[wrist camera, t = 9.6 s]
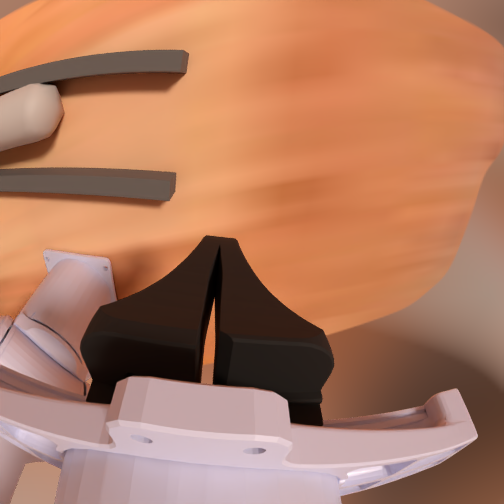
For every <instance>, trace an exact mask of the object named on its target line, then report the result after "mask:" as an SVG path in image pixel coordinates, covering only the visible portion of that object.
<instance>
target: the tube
mask: <svg viewBox="0 0 504 504" xmlns="http://www.w3.org/2000/svg"><path fill="white" fill-rule="evenodd" d="M63 114H64V109H63V105H62V101H61V97H60V94H59V92H58V90H57V87H56V86H55V85H51V84H48V83H36V84H29V85H26V86H24V87H21V88H19V89H16V90H14V91H11V92H9V93H7V94H4V95H2V96H0V151H3V150H7V149H11V148H14V147H18V146H22V145H26V144H30V143H34V142H38V141H40V140H43V139H45V138H48V137H50V136H51V135H52V133H53V132H54V131H55V129H56V128H57V126H58V124H59V122H60V120H61V118H62V116H63Z"/></svg>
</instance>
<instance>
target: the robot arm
mask: <svg viewBox="0 0 504 504" xmlns="http://www.w3.org/2000/svg"><path fill="white" fill-rule="evenodd" d="M43 256H44V260H45V264H46V267H47V271H48V274H47V276H46V277H45V278H44V280H43V281H42V282H41V284H40V285H39V286H38V288H37V289H36V290H35V292H34V293H33V294H32V296H31V297H30V299H29V300H28V301H27V303H26V304H25V306H24V307H23V309H22V310H21V312H20V313H19V315H18V316H17V317H16V318H15V319H14V321H13V319H12V318H11V317H10V316H9V315H7V316H0V504H10V502H11V499H12V496H13V494H14V491H15V489H16V486H17V483H18V481H19V478H20V476H21V473H22V471H23V469H24V466H25V464H26V463H32V462H44V461H46V462H48V463H49V464H51V465H54V466H56V467H58V468H60V469H61V474H60V478H59V482H58V487H57V492H56V497H55V503H54V504H341V498H340V496H343V495H346V494H351V493H355V492H359V491H363V490H366V489H370V488H373V487H376V486H380V485H383V484H386V483H389V482H392V481H395V480H398V479H401V478H403V477H406V476H409V475H412V474H415V473H417V472H420V471H422V470H425V469H428V468H430V467H433V466H435V465H437V464H440V463H441V462H443V461H444V460H446V459H448V458H449V457H451V456H452V455H454V454H455V453H457V452H458V451H460V450H461V449H463V448H464V447H465V446H467V445H468V444H470V443H471V442H472V441H474V440H475V439H476V438H477V437H478V435H477V432H476V430H475V427H474V425H473V423H472V420H471V418H470V415H469V413H468V411H467V409H466V406H465V404H464V402H463V400H462V397H461V395H460V393H459V391H458V389H452V390H448V391H444V392H440V393H437V394H435V395H434V396H432V397H431V398H430V399H429V400H428V401H427V402H426V403H425V405H424V406H419V407H415V408H410V409H405V410H400V411H395V412H389V413H383V414H377V415H370V416H362V417H355V418H345V419H336V420H323V419H322V413H321V408H320V403H321V402H322V394H321V389H322V387H323V386H324V384H325V382H326V381H327V379H328V377H329V376H330V374H331V372H332V370H333V368H334V358H333V354H332V350H331V347H330V345H329V343H328V340H327V338H326V336H325V333H324V331H323V330H322V329H320V328H319V327H317V326H315V325H313V324H311V323H310V322H308V321H306V320H304V319H303V318H301V317H300V316H298V315H297V314H296V313H294V312H293V311H291V310H290V309H289V308H287V307H286V306H285V305H284V304H282V303H281V302H280V301H279V300H278V299H277V298H276V297H274V296H273V295H272V294H271V293H270V292H269V291H268V289H267V288H266V287H265V286H264V285H263V284H262V283H261V281H260V280H259V279H258V277H257V276H256V274H255V273H254V272H253V270H252V269H251V267H250V265H249V264H248V262H247V260H246V258H245V257H244V255H243V253H242V251H241V248H240V246H239V243H238V241H237V240H236V239H234V238H225V237H216V236H207V235H206V236H205V237H204V238H203V239H202V241H201V242H200V243H199V244H198V246H197V247H196V248H195V249H194V250H193V251H192V253H191V254H190V255H189V256H188V257H187V258H186V259H185V260H184V261H183V262H182V263H181V264H179V265H178V266H177V267H176V268H175V269H174V270H173V271H171V272H170V273H169V274H168V275H166V276H165V277H164V278H162V279H161V280H159V281H158V282H156V283H154V284H152V285H151V286H149V287H147V288H146V289H144V290H142V291H140V292H137V293H135V294H133V295H131V296H128V297H126V298H123V299H121V300H118V301H117V298H116V292H115V286H114V280H113V274H112V267H111V262H110V260H109V259H108V258H106V257H99V256H91V255H84V254H77V253H70V252H63V251H57V250H50V249H45V250H44V251H43ZM48 258H49V259H48ZM105 266H106V267H107V268H106V267H105ZM214 297H215V357H214V372H213V385H211V384H202V383H201V376H202V365H203V354H204V345H205V339H206V334H207V329H208V325H209V320H210V316H211V311H212V306H213V302H214ZM12 321H13V322H12ZM91 377H92V379H93V380H92V383H91V386H90V385H89V384H88V383H87V382H85V381H87V380H88V379H90V378H91Z"/></svg>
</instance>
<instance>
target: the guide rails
mask: <svg viewBox="0 0 504 504" xmlns="http://www.w3.org/2000/svg"><path fill="white" fill-rule="evenodd" d="M188 57H189V53H187V52H186V51H184V50H143V51H126V52H115V53H105V54H97V55H89V56H83V57H77V58H71V59H65V60H60V61H55V62H51V63H46V64H42V65H38V66H34V67H30V68H27V69H23V70H20V71H16V72H13V73H10V74H7V75H4V76H1V77H0V94H2V93H6V92H10V91H13V90H16V89H19V88H21V87H24V86H26V85H29V84H36V83H49V82H55V81H61V80H67V79H74V78H82V77H90V76H100V75H112V74H129V73H186V71H187V64H188ZM175 184H176V173H173V172H160V171H146V170H129V169H106V168H17V169H0V191H7V192H43V193H65V194H84V195H100V196H115V197H128V198H140V199H152V200H163V201H170V199H171V197H172V196H173V194H174V192H175Z"/></svg>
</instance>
